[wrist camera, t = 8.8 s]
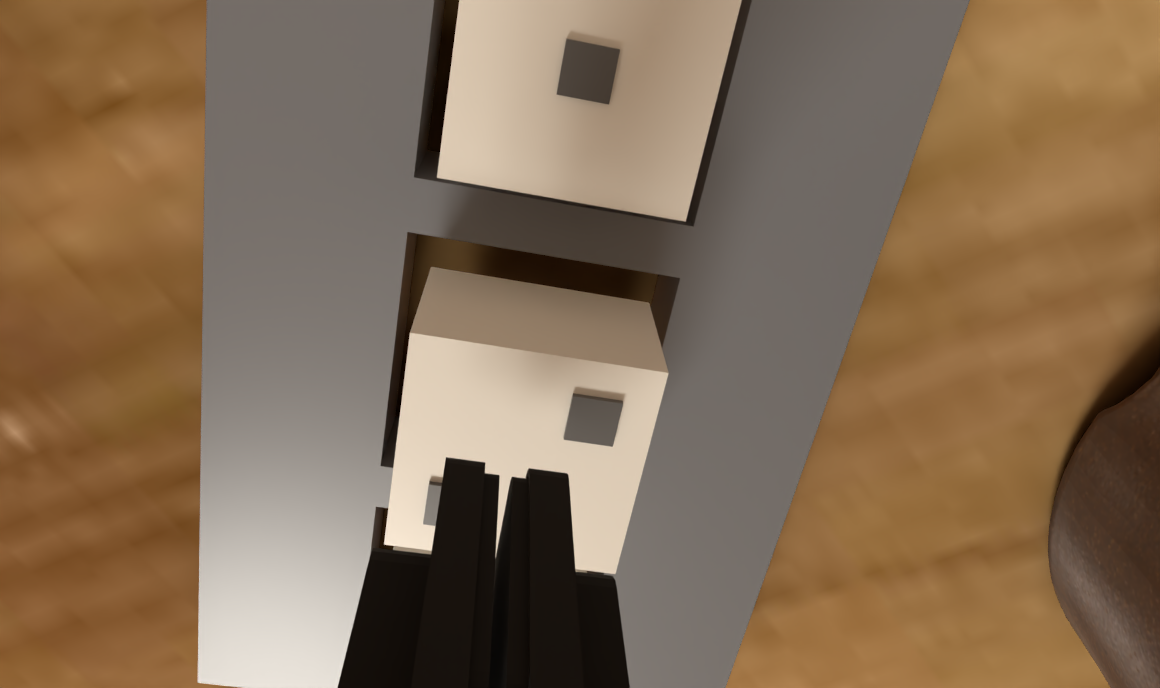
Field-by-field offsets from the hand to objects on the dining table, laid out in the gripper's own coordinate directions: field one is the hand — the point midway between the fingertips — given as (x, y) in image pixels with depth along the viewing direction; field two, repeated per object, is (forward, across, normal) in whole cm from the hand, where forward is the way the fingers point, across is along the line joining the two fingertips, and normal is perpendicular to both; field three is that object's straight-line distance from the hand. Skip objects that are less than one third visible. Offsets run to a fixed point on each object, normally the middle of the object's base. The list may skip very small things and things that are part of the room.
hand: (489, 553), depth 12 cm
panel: (+7, 0, 0) cm, 7 cm away
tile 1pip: (+7, 0, -6) cm, 9 cm away
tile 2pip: (+5, 0, 0) cm, 5 cm away
